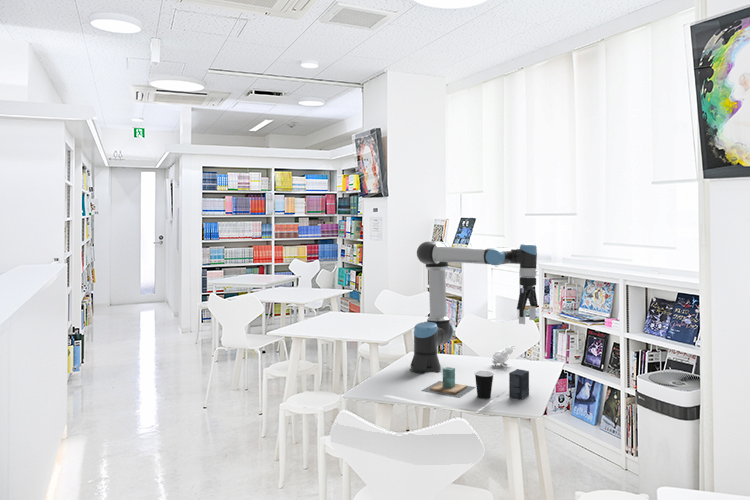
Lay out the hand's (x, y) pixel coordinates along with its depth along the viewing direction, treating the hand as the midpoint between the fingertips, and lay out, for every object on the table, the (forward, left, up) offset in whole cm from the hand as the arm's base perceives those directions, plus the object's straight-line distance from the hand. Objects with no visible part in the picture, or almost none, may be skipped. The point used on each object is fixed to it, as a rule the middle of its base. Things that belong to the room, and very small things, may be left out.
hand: (527, 321), depth 248 cm
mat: (-23, -37, -27) cm, 52 cm away
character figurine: (-18, +19, -28) cm, 38 cm away
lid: (-23, -37, -26) cm, 51 cm away
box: (+5, -27, -28) cm, 39 cm away
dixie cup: (-6, -39, -28) cm, 48 cm away
